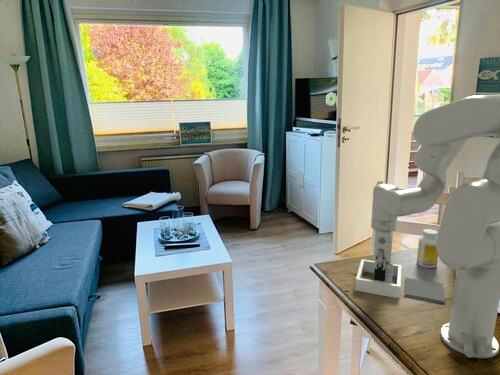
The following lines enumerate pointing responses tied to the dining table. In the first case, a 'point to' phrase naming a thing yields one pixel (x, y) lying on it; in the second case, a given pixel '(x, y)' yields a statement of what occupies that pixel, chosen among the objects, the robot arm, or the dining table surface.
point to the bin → (377, 286)
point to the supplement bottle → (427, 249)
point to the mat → (424, 290)
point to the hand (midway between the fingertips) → (380, 273)
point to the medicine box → (387, 272)
